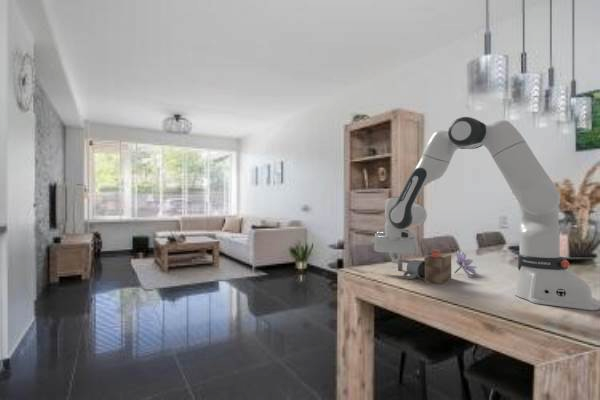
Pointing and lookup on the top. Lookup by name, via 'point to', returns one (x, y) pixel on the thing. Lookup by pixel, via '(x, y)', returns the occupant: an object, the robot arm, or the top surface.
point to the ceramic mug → (415, 269)
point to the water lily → (465, 264)
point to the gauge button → (435, 253)
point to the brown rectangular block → (437, 269)
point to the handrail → (401, 263)
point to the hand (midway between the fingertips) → (395, 263)
